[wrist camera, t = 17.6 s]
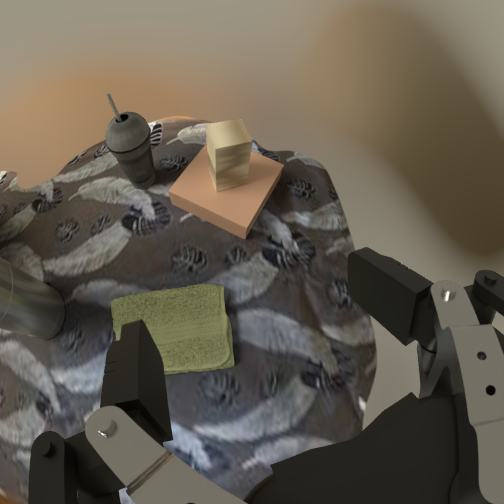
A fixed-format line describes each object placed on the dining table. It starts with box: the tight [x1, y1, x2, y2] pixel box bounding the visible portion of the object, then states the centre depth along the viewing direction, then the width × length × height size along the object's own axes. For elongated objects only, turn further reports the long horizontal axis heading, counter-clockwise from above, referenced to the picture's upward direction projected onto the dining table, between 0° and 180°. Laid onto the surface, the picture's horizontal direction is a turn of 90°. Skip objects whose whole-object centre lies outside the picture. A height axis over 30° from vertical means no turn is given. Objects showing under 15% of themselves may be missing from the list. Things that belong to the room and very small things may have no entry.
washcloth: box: [111, 283, 234, 375], centre depth 37 cm, size 13×18×3 cm
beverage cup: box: [106, 93, 155, 189], centre depth 38 cm, size 7×7×20 cm
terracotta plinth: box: [168, 144, 284, 239], centre depth 46 cm, size 14×14×4 cm
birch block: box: [206, 118, 252, 192], centre depth 39 cm, size 5×5×10 cm
